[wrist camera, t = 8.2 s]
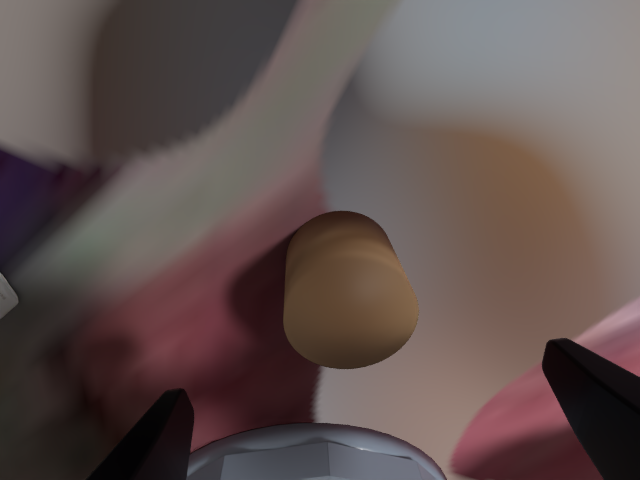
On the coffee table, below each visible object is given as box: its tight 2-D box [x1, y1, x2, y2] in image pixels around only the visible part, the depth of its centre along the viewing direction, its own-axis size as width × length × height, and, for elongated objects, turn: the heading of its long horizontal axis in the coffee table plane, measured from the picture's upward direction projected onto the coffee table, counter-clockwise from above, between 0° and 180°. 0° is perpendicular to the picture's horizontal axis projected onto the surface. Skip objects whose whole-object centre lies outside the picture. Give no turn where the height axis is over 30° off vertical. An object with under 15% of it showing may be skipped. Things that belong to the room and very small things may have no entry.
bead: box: [283, 211, 419, 369], centre depth 12 cm, size 4×4×4 cm
